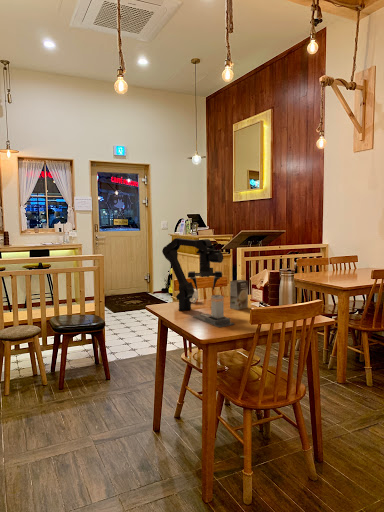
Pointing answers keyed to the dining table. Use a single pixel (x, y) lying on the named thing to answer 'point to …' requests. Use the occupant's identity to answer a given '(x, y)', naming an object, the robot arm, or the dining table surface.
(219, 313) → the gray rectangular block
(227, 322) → the dark flat piece
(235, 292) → the coffee box
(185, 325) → the dining table surface
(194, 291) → the penguin figurine
